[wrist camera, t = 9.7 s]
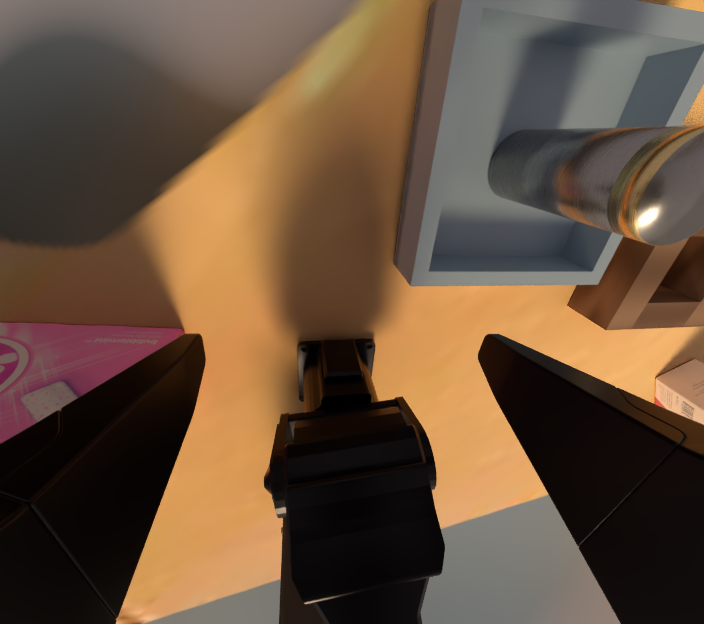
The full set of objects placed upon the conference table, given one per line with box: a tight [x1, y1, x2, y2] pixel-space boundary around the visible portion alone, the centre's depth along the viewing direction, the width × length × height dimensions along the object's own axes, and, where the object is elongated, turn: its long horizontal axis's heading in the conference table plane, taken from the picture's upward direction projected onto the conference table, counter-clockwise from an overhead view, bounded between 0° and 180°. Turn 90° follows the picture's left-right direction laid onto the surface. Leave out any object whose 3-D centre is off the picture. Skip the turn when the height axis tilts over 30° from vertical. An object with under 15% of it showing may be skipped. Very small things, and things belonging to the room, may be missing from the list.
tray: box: [394, 0, 704, 286], centre depth 18 cm, size 14×14×4 cm
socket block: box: [567, 228, 704, 330], centre depth 24 cm, size 10×10×4 cm
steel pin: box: [488, 125, 704, 246], centre depth 15 cm, size 4×4×10 cm
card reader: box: [279, 517, 325, 624], centre depth 28 cm, size 9×4×15 cm, turn 179°
